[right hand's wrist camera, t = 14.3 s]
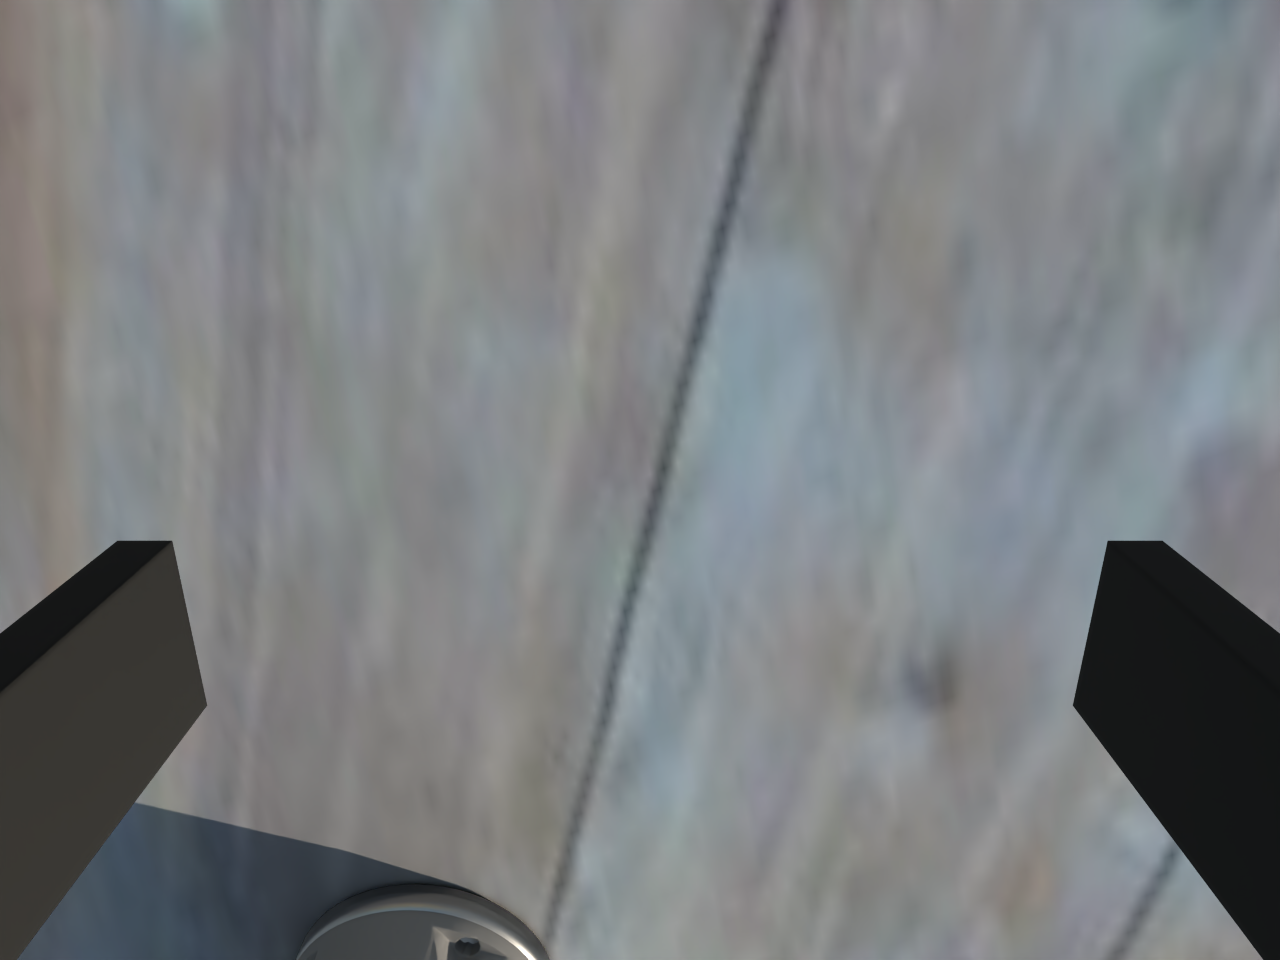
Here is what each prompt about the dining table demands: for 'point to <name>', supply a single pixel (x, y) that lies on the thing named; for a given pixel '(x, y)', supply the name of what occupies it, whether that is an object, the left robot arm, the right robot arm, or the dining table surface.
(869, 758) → the dining table surface
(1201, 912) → the dining table surface
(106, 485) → the dining table surface
